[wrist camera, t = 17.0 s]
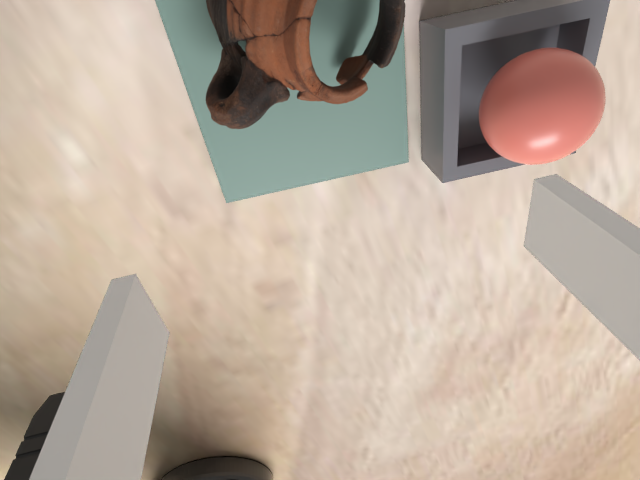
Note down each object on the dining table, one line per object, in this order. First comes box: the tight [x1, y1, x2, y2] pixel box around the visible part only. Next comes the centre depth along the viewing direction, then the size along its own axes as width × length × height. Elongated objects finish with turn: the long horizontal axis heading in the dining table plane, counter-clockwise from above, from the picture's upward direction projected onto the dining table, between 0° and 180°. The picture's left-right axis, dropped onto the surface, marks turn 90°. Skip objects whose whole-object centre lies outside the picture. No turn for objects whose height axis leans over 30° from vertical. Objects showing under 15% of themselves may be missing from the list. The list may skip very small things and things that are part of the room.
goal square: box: [155, 0, 409, 203], centre depth 26 cm, size 14×15×1 cm
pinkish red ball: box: [479, 48, 605, 165], centre depth 23 cm, size 6×6×6 cm
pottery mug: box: [206, 0, 405, 129], centre depth 22 cm, size 12×10×8 cm
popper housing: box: [419, 0, 610, 183], centre depth 27 cm, size 10×10×4 cm
